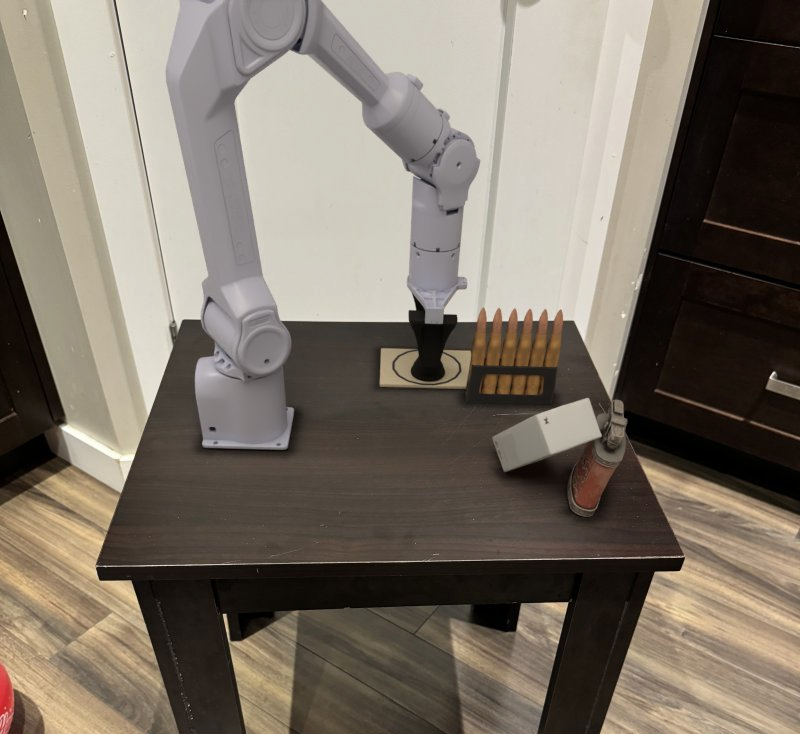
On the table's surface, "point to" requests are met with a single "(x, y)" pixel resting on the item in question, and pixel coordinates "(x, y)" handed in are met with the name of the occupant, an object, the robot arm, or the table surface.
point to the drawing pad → (401, 360)
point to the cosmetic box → (547, 434)
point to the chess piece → (427, 372)
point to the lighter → (598, 461)
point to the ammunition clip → (514, 361)
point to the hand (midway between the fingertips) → (428, 350)
